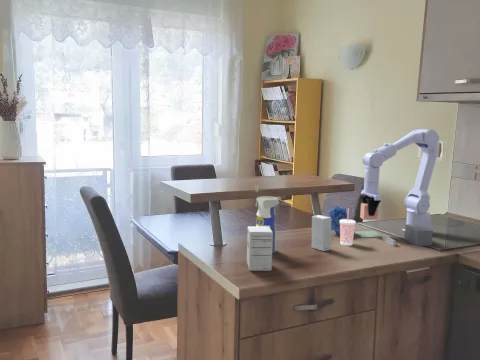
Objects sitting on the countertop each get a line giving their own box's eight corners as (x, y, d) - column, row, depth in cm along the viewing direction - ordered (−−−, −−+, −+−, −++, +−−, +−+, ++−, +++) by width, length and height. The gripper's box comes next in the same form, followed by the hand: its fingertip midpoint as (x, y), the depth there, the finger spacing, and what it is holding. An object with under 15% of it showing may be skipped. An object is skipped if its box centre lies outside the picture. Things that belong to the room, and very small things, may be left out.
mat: (373, 231, 194) (374, 231, 194) (382, 237, 185) (382, 236, 185) (353, 231, 193) (353, 231, 193) (361, 237, 184) (361, 236, 184)
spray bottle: (267, 256, 157) (269, 184, 153) (248, 250, 163) (250, 181, 159) (281, 251, 163) (284, 182, 159) (263, 246, 169) (265, 179, 165)
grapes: (333, 237, 183) (334, 208, 181) (323, 233, 189) (324, 205, 187) (355, 234, 188) (357, 206, 186) (345, 231, 194) (346, 203, 192)
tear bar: (384, 239, 182) (384, 234, 182) (395, 246, 173) (395, 241, 172) (381, 239, 182) (382, 234, 182) (393, 246, 172) (393, 241, 172)
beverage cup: (334, 242, 176) (336, 207, 174) (346, 240, 179) (348, 206, 177) (345, 246, 170) (347, 210, 168) (357, 244, 173) (360, 208, 171)
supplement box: (246, 263, 149) (247, 225, 147) (268, 263, 149) (269, 225, 148) (248, 271, 142) (249, 231, 140) (272, 270, 142) (273, 231, 140)
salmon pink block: (373, 217, 190) (374, 203, 189) (377, 219, 186) (378, 205, 185) (360, 217, 189) (360, 203, 189) (363, 219, 186) (364, 205, 185)
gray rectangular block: (418, 238, 184) (419, 224, 183) (431, 245, 174) (432, 230, 173) (404, 238, 183) (405, 224, 183) (416, 245, 174) (417, 230, 173)
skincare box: (331, 249, 166) (332, 217, 165) (323, 251, 163) (324, 218, 162) (318, 245, 171) (319, 214, 169) (310, 247, 168) (311, 215, 166)
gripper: (355, 179, 192) (353, 210, 194) (369, 184, 178) (366, 218, 180) (371, 179, 193) (369, 210, 195) (386, 184, 179) (383, 218, 181)
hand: (369, 214), depth 188 cm, fingers closed on salmon pink block, 4 cm apart
